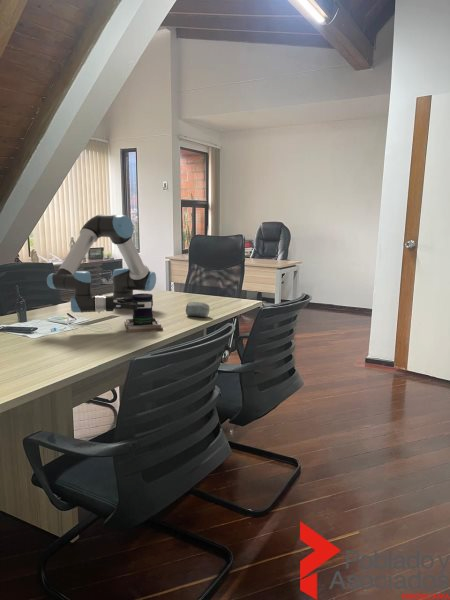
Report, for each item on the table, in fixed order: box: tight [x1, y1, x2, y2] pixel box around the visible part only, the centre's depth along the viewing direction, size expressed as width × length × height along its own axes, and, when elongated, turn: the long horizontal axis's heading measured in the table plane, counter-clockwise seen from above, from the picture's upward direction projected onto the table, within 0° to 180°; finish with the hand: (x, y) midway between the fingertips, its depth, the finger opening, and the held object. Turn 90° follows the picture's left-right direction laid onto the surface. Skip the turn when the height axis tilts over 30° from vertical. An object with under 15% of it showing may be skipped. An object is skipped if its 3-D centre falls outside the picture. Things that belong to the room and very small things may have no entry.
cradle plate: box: [124, 317, 164, 333], centre depth 212 cm, size 17×17×3 cm
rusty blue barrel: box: [132, 292, 154, 326], centre depth 211 cm, size 10×10×15 cm
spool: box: [185, 301, 211, 318], centre depth 238 cm, size 14×10×10 cm
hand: (149, 302), depth 211 cm, fingers open, 13 cm apart
